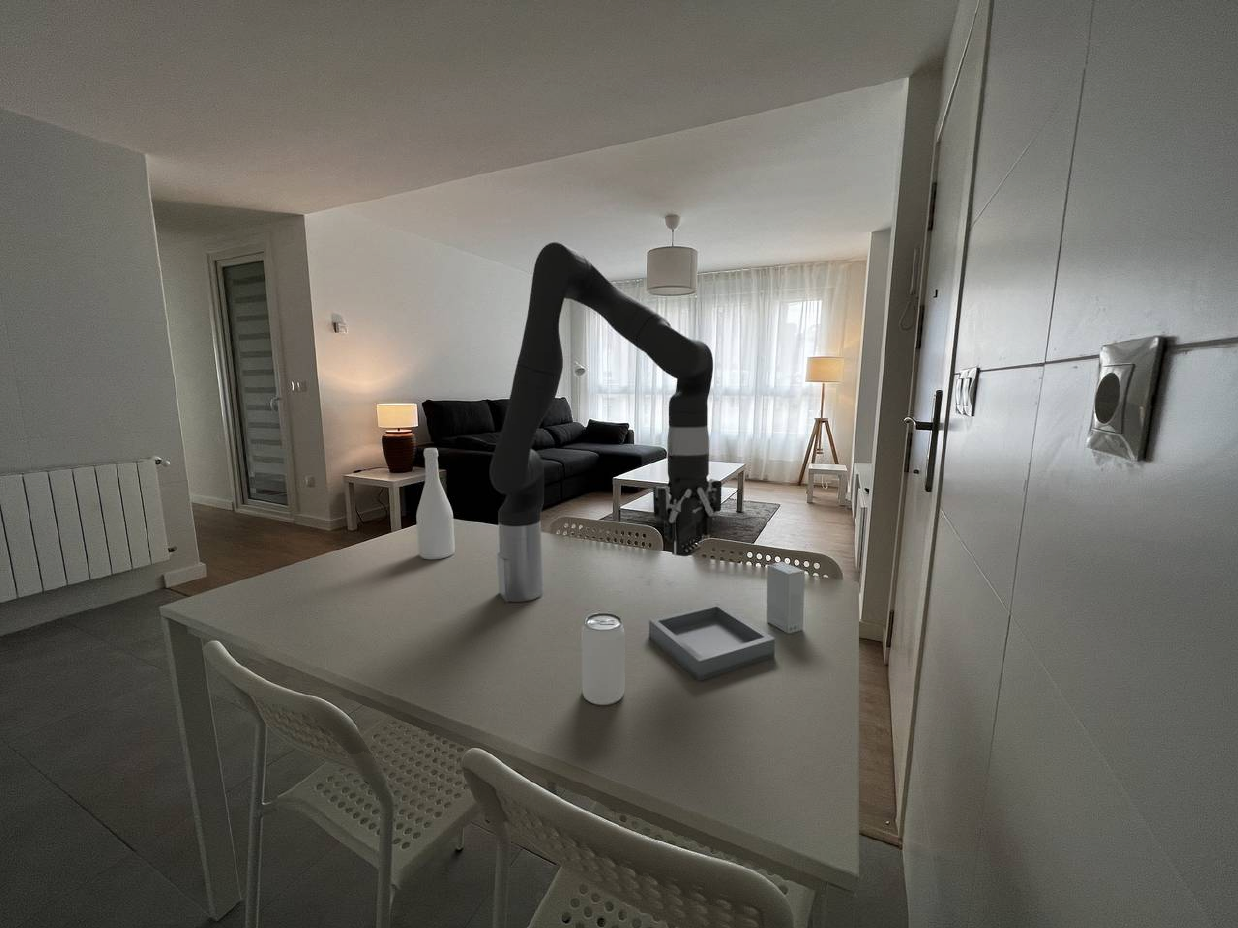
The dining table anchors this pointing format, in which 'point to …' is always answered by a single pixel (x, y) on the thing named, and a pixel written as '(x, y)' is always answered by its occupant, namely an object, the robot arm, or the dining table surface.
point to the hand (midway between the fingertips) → (688, 537)
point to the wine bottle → (434, 514)
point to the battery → (687, 526)
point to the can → (603, 659)
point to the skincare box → (785, 597)
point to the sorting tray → (711, 640)
